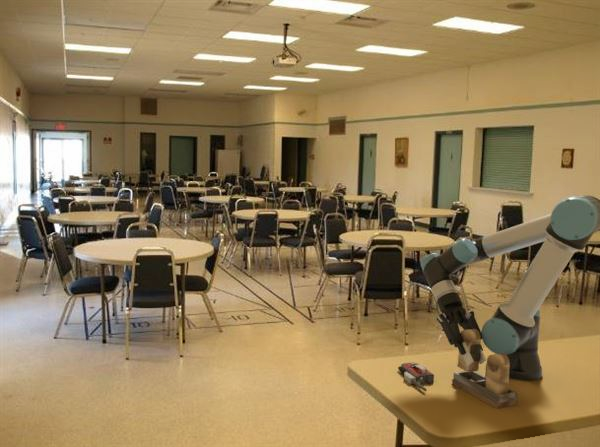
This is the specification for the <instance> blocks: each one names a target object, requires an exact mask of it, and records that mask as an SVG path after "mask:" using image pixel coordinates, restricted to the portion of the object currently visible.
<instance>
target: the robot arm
mask: <svg viewBox="0 0 600 447" xmlns="http://www.w3.org/2000/svg"><path fill="white" fill-rule="evenodd" d="M599 231H600V199H599V198H598V197H596V196H593V195H579V196H570V197H567V198H565V199H564V200H561V201H560V202H558V203H557V205H555V207H554V208H553V210H552V212H551V213H549V214H547V215H544V216H541V217H538V218H535V219H532V220H529V221H526V222H523V223H520V224H516V225H514V226H511V227H509V228H505V229H503V230H499V231H496V232H493V233H490V234H487V235H485V236H481V237H479V238H475V239H473V240H470V239H468V238H465V237H464V238H461V239H460V240H458V241H456V242H455V243H453V245H451V246H450V247H449V248H447V249H446V250H444V252H442V253H441V254H440V253H437V252H433V253H429V254H427V255H425V256H424V257H422V259H421V260H420V267H421V269H422V270H421V271H422V273H423V275H424V277H425V279H426V281H427V283H428V285H429V287H430V290H431V293H432V295H433V297H434V299H435V301H436V304H437V307H438V309H439V311H440V312H441V313H440V314H439V315H438V316H437V317H436V321H437V322H438V323H439V324H440V326H441V327H442V330H443V333H444V334H445V337H446V339H447V340H448V342H449V345H451V346H453V345H454V346H453V347H454V348H457V349H458V353H459V352H460V354H461V355H463V357H464V359H465V361H466V364H467V366H470V365H471V364H472V363H473V362H474V361H473V358H472V356H471V354H470V352H469V350H468V347H467V345H466V343H465V342H464V343H462V338H461V334H460V333H461V331H460V327H461V328H462V330H468V329H476V330H478V331H479V333H480V336H481V340H482V342H483V344H484V345H485V347H486V348H487V349H488V350H489V351H491V353H494V354H500V353H504V354H506V355H507V357H508V358H509V362H510V368H509V379H513V380H519V381H535V380H539V379H540V378H541V377H542V376H543V367H542V365H541V360H540V356H539V351H538V350H539V338H540V336H539V335H540V323H541V311H540V307H541V306H542V304H543V303H544V301H545V299H546V298H547V297H548V295H549V293H550V291H551V290H552V288H553V287H554V285H555V284H556V282H557V281H558V279H559V278H560V276H561V274H562V273H563V271H564V270H565V268H566V267H567V265H568V263H569V261H570V260H571V259H572V257H573V256H574V254H575V253H577V252H581V251H583V250H584V249H585V247H586V246H587V245H588V243H589V242H590V240H591V238H592V237H593V235H594V234H595V233H597V232H599ZM540 243H542V245H541V247H540V249H539V250H538V251H537V253H536V255H535V256H534V258H533V259H532V261H531V263H530V265H529V266H528V268H527V269H526V271H525V273H524V274H523V276H522V277H521V280H520V281H519V282H518V284H517V286H516V287H515V289H514V291H513V292H512V294H511V296H510V297H509V298H508V300H507V301H505V302H500V304H499V305H498V307H497V309H496V310H495V312H494V313H493V315H492V316H491V318H489V319H487V320H486V321H485V323H484V324H483V325H482V328H481V329H480V326H479V324H478V321H477V319H476V317H475V316H476V315H475V312H474V311H473V310H471V311H468V310H466V309H465V307H464V306H463V301H462V298H461V297H460V294H459V293H458V290H457V288H456V285H455V283H454V282H453V280H452V277H451V276H452V275H454V274H456V272H458V271H459V270H461V269H462V268H464V267H467V266H470V265H472V264H476V263H480V262H483V261H486V260H488V259H492V258H494V257H498V256H501V255H504V254H507V253H511V252H513V251H514V252H515V251H517V250H521V249H524V248H526V247H527V248H528V247H529V246H534V245H537V244H540ZM480 345H481V353H480V361H479V365H482V364H484V363H485V362H487V357H486V356H485V354H484V349H483V346H482V344H481V343H480Z"/></svg>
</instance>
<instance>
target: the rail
mask: <svg viewBox="0 0 600 447" xmlns="http://www.w3.org/2000/svg"><path fill="white" fill-rule="evenodd" d="M509 368H510V362H509V358H508V357H507V355H506V354H504V353H500V354H495V353H494V354H490V355H488V356H487V357H486V364H485V376H484V374H483V375H482V374H481V373H479V372H478V371H473V372H467V371H465V370H462V371H458V372H457V371H456V372H453V378H452V379H451V382H452V385H454V386H456V387H457V388H459V389H461V391H462V390H463V391H465V392H466V393H468V394H469V395H471V396H473V397H475V398H477V399H478V400H480V401H482V402H484V403H486V404H487V405H489V406H491V407H493V408H495V409H499V408H506V407H511V406H516V405H518V404H519V403H518V402H519V399H518V392H517V391H514V390H512V389H510V388H509V384H510V383H509V382H510V378H509Z"/></svg>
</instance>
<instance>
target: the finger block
mask: <svg viewBox="0 0 600 447" xmlns="http://www.w3.org/2000/svg"><path fill="white" fill-rule="evenodd" d="M460 334H461V338H462V343H464V342H465V343H466V345H467V347H468V350H469V352H470V354H471V356H472V358H473V361H474V362H473V363H472V364H471V365H470V366H467V364H466V361H465V359H464V357H463V355H461V354H460V352H459V351H458V356H457V358H458V359H457V367H458V368H460V369H461V370H462V371H467V372H473V371H475V372H479V370H480V369H479V368H480V363H479V361H480V353H481V346H482V344H481V342H482V339H481V336H480V333H479V331H478V330H476V329H468V330H464V329H462V330H461V331H460ZM480 344H481V345H480Z"/></svg>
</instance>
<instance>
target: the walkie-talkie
mask: <svg viewBox="0 0 600 447" xmlns="http://www.w3.org/2000/svg"><path fill="white" fill-rule="evenodd" d="M397 370H398V371H399V372H400V374H402V373H403V374H402V375H403V376H404V379H403V380H405V381H406V382H407V383H408V384H409V385H415V386H416V387H417V388H418V389H420V390H423V391H424V392H427V388H426V387H424V386H423V384H432V383H434V382H435V381H434V380H435V374H434V373H432V372H431V371H429V370H428V369H427V368H426V367H425V366H423V365H422V364H419V363H417V362H415V361H414V362H404V363H401V365H400V366H398V369H397Z"/></svg>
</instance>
